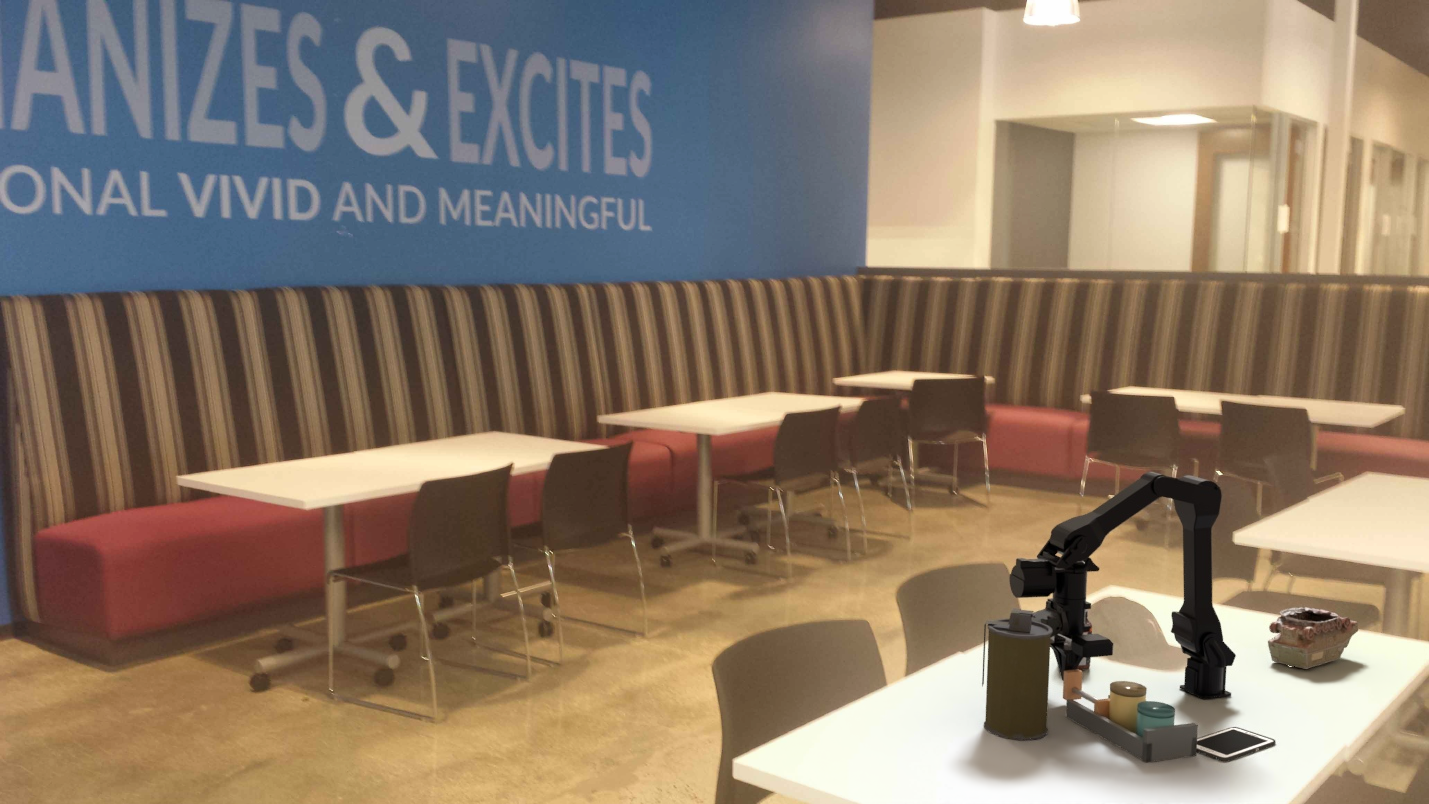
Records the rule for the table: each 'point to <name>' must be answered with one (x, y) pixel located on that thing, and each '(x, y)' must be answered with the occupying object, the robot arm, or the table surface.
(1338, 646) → the decorative box
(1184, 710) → the table surface
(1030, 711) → the canister
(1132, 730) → the ochre jar
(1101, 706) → the pusher
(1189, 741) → the lane
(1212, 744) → the cell phone
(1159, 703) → the jar
